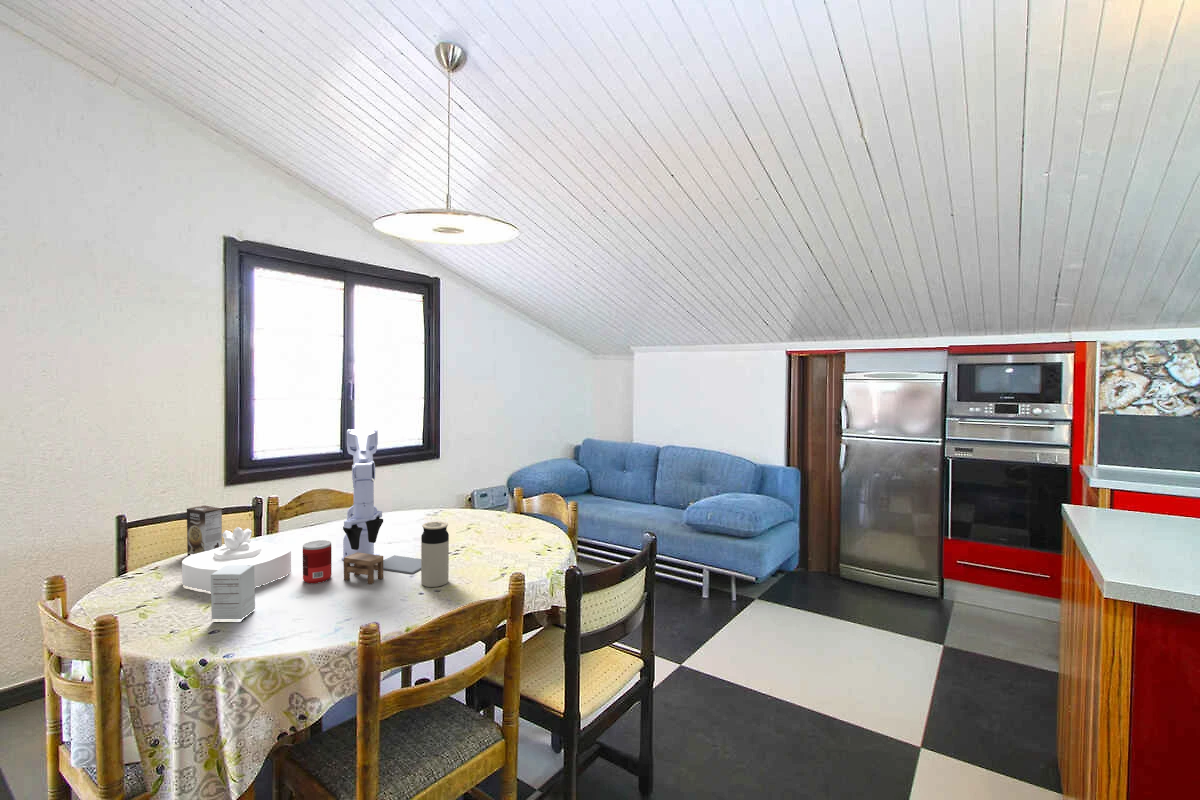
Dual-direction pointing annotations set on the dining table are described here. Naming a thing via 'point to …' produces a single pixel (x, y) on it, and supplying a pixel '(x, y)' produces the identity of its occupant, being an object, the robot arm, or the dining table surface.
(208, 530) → the coffee box
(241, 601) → the supplement box
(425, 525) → the travel mug
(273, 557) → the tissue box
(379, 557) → the stool
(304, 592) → the dining table surface
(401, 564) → the mat
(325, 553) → the canned food
